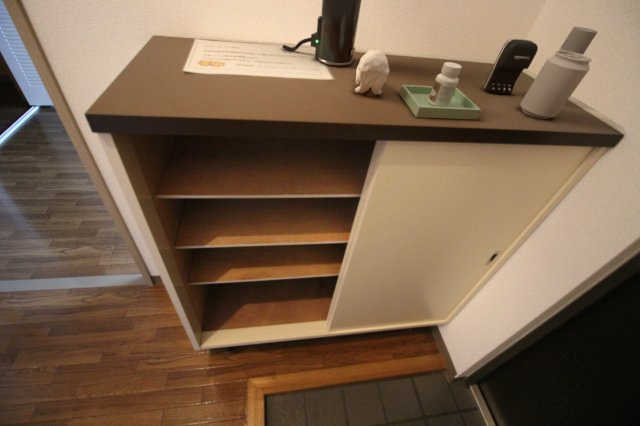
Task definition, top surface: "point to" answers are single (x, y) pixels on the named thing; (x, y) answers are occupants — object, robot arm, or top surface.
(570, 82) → the can
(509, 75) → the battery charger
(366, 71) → the white bear figurine
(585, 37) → the container
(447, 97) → the pill bottle
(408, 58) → the top surface
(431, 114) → the tray
